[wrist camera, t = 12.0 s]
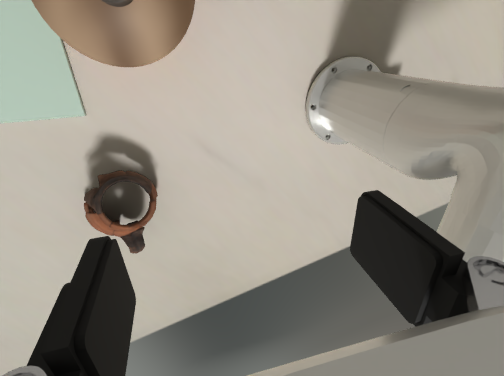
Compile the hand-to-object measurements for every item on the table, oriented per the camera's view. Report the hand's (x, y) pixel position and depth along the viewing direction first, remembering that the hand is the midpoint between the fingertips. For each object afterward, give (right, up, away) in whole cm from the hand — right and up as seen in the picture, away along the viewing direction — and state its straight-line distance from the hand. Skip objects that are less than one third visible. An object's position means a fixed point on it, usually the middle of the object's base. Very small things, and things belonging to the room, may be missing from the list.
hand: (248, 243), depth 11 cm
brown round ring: (-18, 0, +30) cm, 35 cm away
